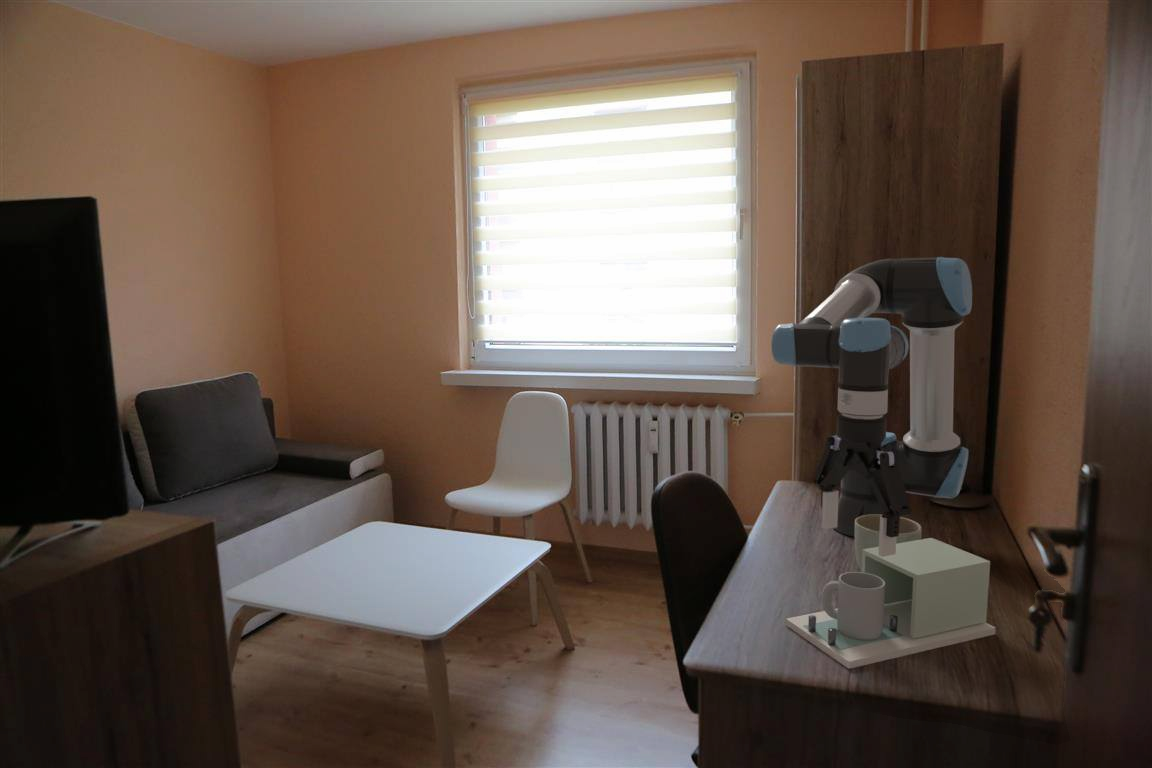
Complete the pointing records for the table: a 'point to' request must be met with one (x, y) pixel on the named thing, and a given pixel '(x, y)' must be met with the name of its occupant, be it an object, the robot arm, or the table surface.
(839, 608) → the cup
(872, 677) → the table surface
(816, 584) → the table surface
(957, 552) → the hood
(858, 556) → the planter
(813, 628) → the pins
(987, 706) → the table surface
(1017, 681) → the table surface
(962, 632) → the board
